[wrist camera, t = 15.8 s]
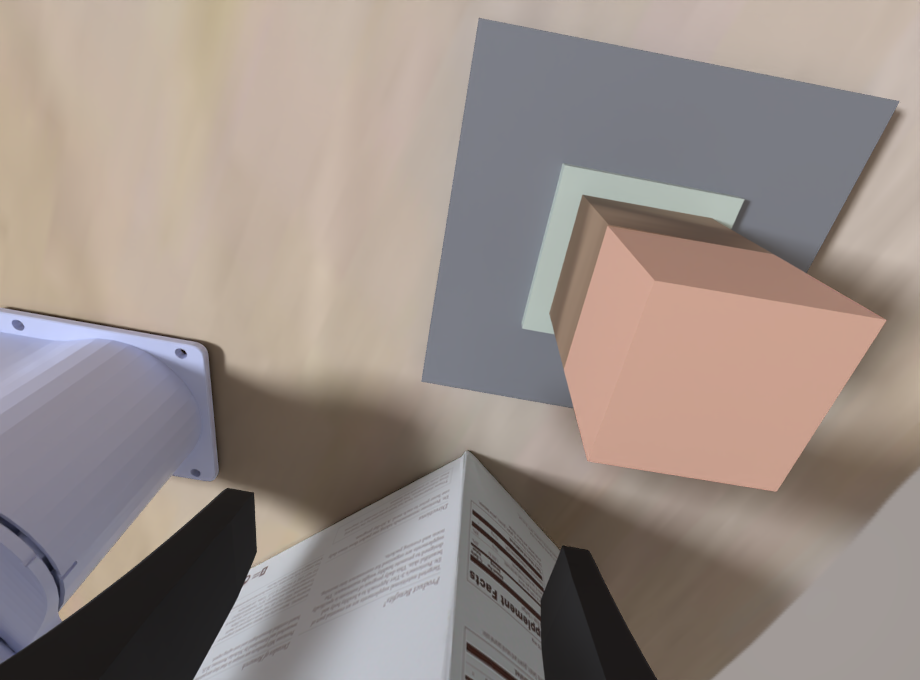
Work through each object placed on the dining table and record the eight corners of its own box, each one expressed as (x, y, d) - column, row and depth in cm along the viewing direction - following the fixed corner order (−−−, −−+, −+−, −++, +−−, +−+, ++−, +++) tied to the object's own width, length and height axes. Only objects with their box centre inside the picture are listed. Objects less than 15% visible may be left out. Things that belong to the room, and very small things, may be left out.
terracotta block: (563, 369, 14) (587, 461, 11) (607, 225, 12) (654, 280, 9) (706, 393, 14) (776, 491, 11) (773, 254, 12) (886, 320, 9)
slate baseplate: (424, 369, 21) (419, 388, 20) (479, 22, 15) (478, 15, 14) (709, 419, 21) (724, 441, 20) (876, 100, 15) (912, 101, 14)
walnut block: (549, 313, 18) (563, 368, 14) (582, 194, 16) (608, 224, 12) (663, 333, 18) (706, 393, 14) (711, 218, 16) (774, 254, 12)
